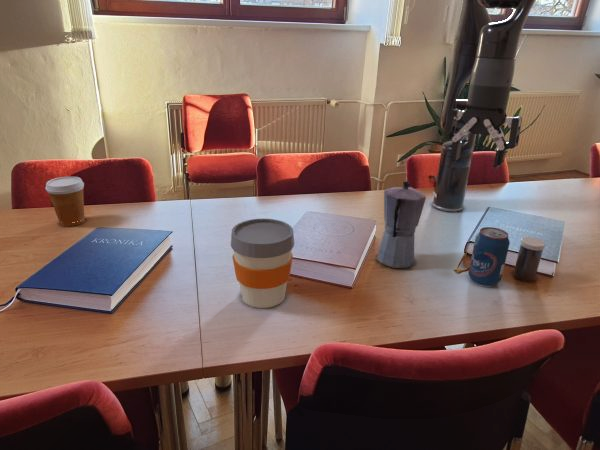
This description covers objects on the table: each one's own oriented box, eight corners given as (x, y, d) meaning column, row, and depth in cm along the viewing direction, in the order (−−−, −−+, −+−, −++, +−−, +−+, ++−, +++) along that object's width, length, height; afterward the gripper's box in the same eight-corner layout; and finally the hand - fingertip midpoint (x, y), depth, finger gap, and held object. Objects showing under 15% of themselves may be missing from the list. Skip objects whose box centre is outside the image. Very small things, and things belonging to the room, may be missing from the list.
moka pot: (418, 251, 113) (430, 176, 105) (412, 280, 99) (424, 197, 91) (381, 245, 115) (389, 171, 107) (370, 273, 102) (378, 191, 94)
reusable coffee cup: (270, 320, 85) (270, 251, 79) (220, 300, 91) (216, 233, 85) (304, 291, 94) (306, 227, 88) (257, 274, 100) (256, 213, 94)
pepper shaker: (512, 269, 105) (521, 235, 101) (534, 274, 103) (544, 239, 100) (512, 279, 101) (521, 243, 97) (535, 283, 99) (545, 248, 96)
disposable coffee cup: (45, 225, 122) (35, 184, 117) (73, 213, 130) (65, 174, 125) (71, 231, 119) (62, 189, 114) (98, 218, 127) (91, 178, 122)
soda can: (462, 280, 100) (471, 232, 95) (474, 269, 105) (484, 223, 100) (492, 292, 96) (504, 242, 91) (504, 280, 100) (516, 232, 96)
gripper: (535, 84, 85) (516, 166, 91) (462, 78, 93) (449, 153, 100) (524, 87, 79) (505, 174, 86) (447, 80, 88) (435, 160, 94)
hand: (475, 163), depth 93 cm, fingers open, 8 cm apart
